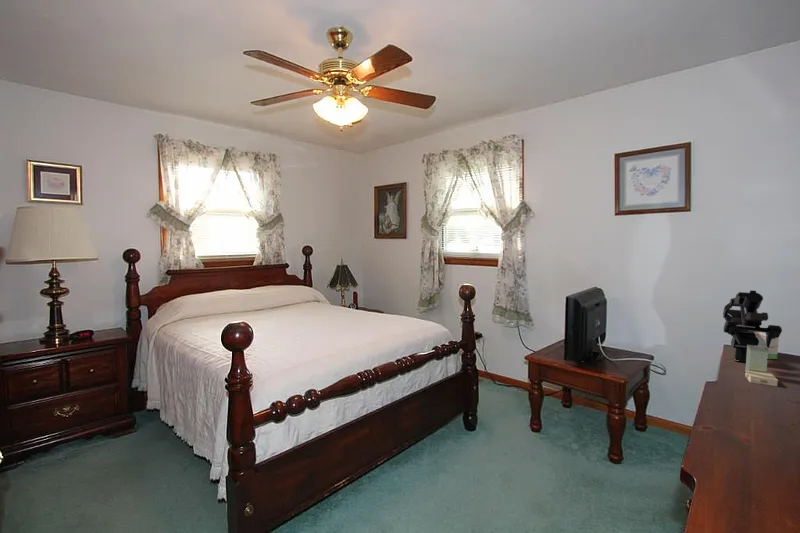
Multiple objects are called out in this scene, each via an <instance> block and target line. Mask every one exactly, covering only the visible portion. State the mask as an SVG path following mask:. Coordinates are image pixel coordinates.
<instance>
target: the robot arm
mask: <svg viewBox="0 0 800 533" xmlns="http://www.w3.org/2000/svg"><path fill="white" fill-rule="evenodd" d="M729 300H730V301H729V303H727V304H726V305H725V306H724V307H723V311H722V317H723V318H724V320H725V323H724V325H723V332H724V333H727V335H730V336H731V337H732V338H731V341H730V346H731V347H732V348H733V349H735V350H734V357H735V359H736V360H739V361H741V362H740V363H743V362H746V356H747V345H754V346H758V344H759V340H758V338H757V337H756V335H755V333H754V332H763V333H766V345H767V348H769V346H770V343H771V340H772V339H775V338H778V337H779V338H780V335H781V334H782V332H783V330H782V329H783V328H782V327H781V326H780V325H775V324H768V325H767V327H764V328H762V327H763V326H762V324H763V323H762V322H763V321H765V322H766V321H768V320H769V314H768V312H758V309H759V308H760V306H761V304H762V302H763V300H764V297H763V295H761V293H758V292H757V291H756V290H749V292H747V291H746V292H744V291H743V292H742V291H739V292H738V293H736V295H735V297H732V298H730V299H729ZM733 307H736V308H737V307H740V308H739V309H732V308H733Z"/></svg>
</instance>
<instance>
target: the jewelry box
mask: <svg viewBox="0 0 800 533" xmlns="http://www.w3.org/2000/svg"><path fill="white" fill-rule="evenodd" d="M745 371H746V373H745V374H744V376H745V378H746V379H747V380H748V382H749V383H750V384H757V385H765V386H771V387H778V382H779V379H777V378H776V376H775V375H773V373H767V372H766V373H762V372H755V371H747V370H744V372H745Z"/></svg>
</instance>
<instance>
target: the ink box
mask: <svg viewBox="0 0 800 533" xmlns="http://www.w3.org/2000/svg"><path fill="white" fill-rule="evenodd" d="M761 327H762V328H765V327H764V326H761ZM754 333H755V335H756V337H757V338H758V340H759V344H758V346H763V347H766V348H767V345H766V333H763V332H754ZM779 338H780V336H779V337H778V338H775V339H772V340H771V343H770V346H769V348H767V349H768V350H769V352H768V359H777V360H778V350H779V341H780V340H779Z"/></svg>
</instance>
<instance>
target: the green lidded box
mask: <svg viewBox="0 0 800 533" xmlns="http://www.w3.org/2000/svg"><path fill="white" fill-rule="evenodd" d="M768 352H769V350H768V349H767V348H766V347H763V346H754V345H747V356H746V363H745V370H747V371H755V372H762V373H767V368H768V360H767V359H768ZM745 370H744V373H745V372H746V371H745Z"/></svg>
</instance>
